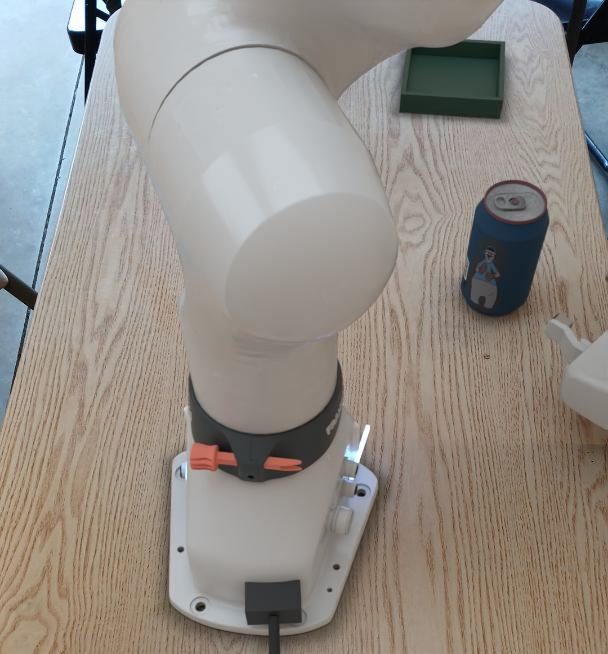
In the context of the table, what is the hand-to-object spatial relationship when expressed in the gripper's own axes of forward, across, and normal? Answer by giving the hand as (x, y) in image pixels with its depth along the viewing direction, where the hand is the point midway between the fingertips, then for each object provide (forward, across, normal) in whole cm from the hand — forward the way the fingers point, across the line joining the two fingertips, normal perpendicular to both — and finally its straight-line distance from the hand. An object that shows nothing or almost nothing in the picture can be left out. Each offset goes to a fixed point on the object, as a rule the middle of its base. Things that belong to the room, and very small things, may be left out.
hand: (581, 295), depth 77 cm
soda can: (+9, 0, +7) cm, 11 cm away
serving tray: (+36, -25, +6) cm, 44 cm away
